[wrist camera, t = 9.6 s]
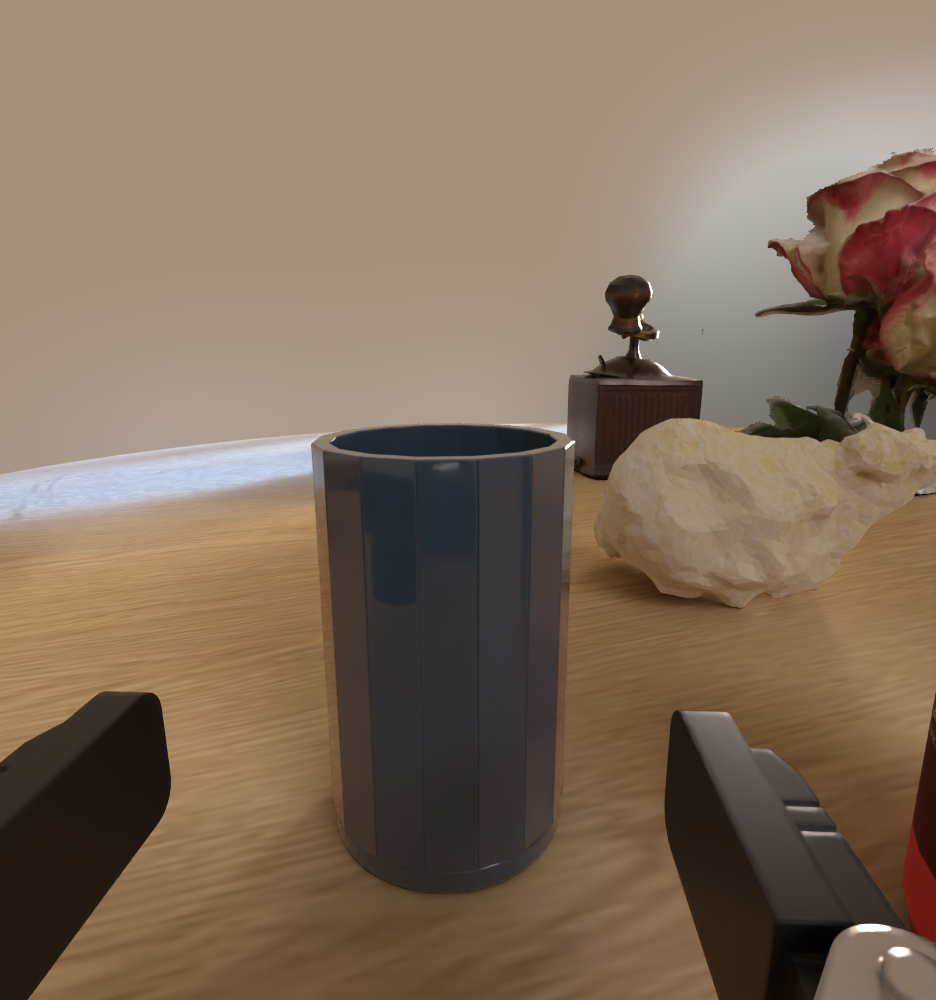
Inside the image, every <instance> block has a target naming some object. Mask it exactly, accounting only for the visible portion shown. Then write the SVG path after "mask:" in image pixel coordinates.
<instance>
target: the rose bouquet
mask: <svg viewBox="0 0 936 1000" xmlns="http://www.w3.org/2000/svg"><path fill="white" fill-rule="evenodd" d="M932 149H933V148H932ZM932 149H923V150H918V149H917V150H914V151H913V152H907V153H903V154H900V155H894V156H892V157H891V159H888V160H887V161H884V162H883V164H877V165H876V166H872V167H869V168H868V170H867V171H864V172H861V173H857V175H852V176H849V177H847V178H844V179H841V180H840V181H838V182H837V183H835V184H834V185H833V184H832V185H830V186H828V187H825V188H824V189H819V190H818V191H817V192H815V193H814V194H813V195H811V196H809V197H807V213H808V212H809V213H808V215H807V218H808V220H810V221H812V222H813V225H815V228H814V229H812V230H810V231H809V233H811V234H808V235H807V236H806V237H804V238H803V239H804V240H794V239H782V240H781V239H775V240H774V239H773V240H772V241H771V240H770V241H769V242H768V248H773V249H775V250H776V251H777V256H784V257H785V258H786V259H788V260H789V261H790V264H791V271H792V273H793V275H794V277H795V278H796V279H797V280H798V282H799V283H800V284H801V285H802V286H803V287H804V289H805V290H806V291H807V292H808V294H809V296H810V297H814V298H815V299H810V300H808V301H807V302H801V303H795V304H787V305H781V306H777V307H771V308H768V309H764V310H761V311H758V312H757V313H755V316H756V317H762V316H767V315H772V314H796V315H808V316H811V315H824V314H829V313H833V312H837V311H844V310H855V311H856V313H855V314H854V323H853V339H852V342H851V346H850V349H847V350H849V351H850V352H849V354H848V356H847V357H846V358H845V360H844V364H843V367H842V372H841V374H840V378H839V381H838V383H837V386H838V389H837V394H836V398H835V404H834V405H835V410H834V409H832V408H829V407H823V406H819V405H814V406H807V407H806V408H807V409H812V410H815V411H817V415H816V414H814V413H812V412H810V411H808V410H806V409H803V408H800V407H799V406H798V405H797V404H795V403H792V402H791V401H789V400H785V399H784V398H781V397H779V396H775V397H773V398H771V399H767V400H766V402H768V403H769V405H770V407H771V409H770V415H769V416H770V417H771V418H772V419H773V420H774V421H775V423H776V424H775V426H772V425H771V424H770V425H769V424H765V423H760V421H759V422H757V423H755V424H751V425H750V426H749V427H747V428H745V429H743V430H741V431H738V432H741V433H744V434H747V435H751V436H761V437H769V438H802V437H809V438H813V439H816V440H817V441H819V442H822V441H825V440H827V439H830V440H833V441H836V442H839V443H841V442H842V440H843V439H844V438H845V437H847V436H851V435H855V434H857V433H859V432H860V431H862V430H865V429H866V428H867V424H866V423H865V421H864V420H863V419H859V420H858V421H856V420H854V419H853V417H852V416H851V415H850V414H849V413H848V407H847V406H848V403H849V400H851V399H852V398H853V397H854V396H856V395H858V394H860V393H862V392H864V391H865V390H867V389H869V391H870V392H871V394H872V395H873V399H872V400H871V406H870V410H869V412H868V414H867V415H866V416H868V417H870V419H871V420H872V421H873V422H875V423H879V424H882V425H884V426H887V427H889V428H892V429H894V430H897V431H899V432H903V431H904V429H905V428H904V414H905V410H906V408H907V405H908V407H909V413H910V420H911V423H912V426H913V428H916V427H917V428H920V424H921V420H922V418H923V415H924V411H925V409H926V406H927V403H928V400H930V399H936V155H934V154H933V152H934V151H932ZM890 154H894V152H892V153H890ZM895 169H897V170H895ZM702 333H703V330H702ZM935 492H936V483H935V484H933V485H931V486H929V487H925V488H922V489H920V490H918V491H917V492H916V493H917V494H923V493H924V494H930V493H935Z"/></svg>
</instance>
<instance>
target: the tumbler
mask: <svg viewBox="0 0 936 1000" xmlns="http://www.w3.org/2000/svg"><path fill="white" fill-rule="evenodd" d="M311 449H312V465H313V481H314V497H315V513H316V529H317V545H318V561H319V577H320V593H321V609H322V625H323V641H324V657H325V673H326V689H327V706H328V722H329V738H330V754H331V770H332V786H333V802H334V805H335V808H336V815H337V826H338V830H339V834H340V837H341V839H342V841H343V843H344V845H345V847H346V848H347V850H348V851H349V852H350V854H351V855H352V856H353V858H354V859H355V860H356V861H357V862H358V863H359V864H360V865H361V866H362V867H364V868H365V869H367V870H368V871H369V872H371V873H372V874H374V875H375V876H377V877H379V878H381V879H383V880H385V881H387V882H389V883H392V884H395V885H397V886H400V887H403V888H408V889H412V890H416V891H423V892H431V893H457V892H466V891H472V890H477V889H481V888H486V887H489V886H491V885H494V884H497V883H500V882H502V881H505V880H507V879H509V878H511V877H513V876H515V875H516V874H518V873H520V872H521V871H523V870H524V869H526V868H527V867H528V866H529V865H531V864H532V863H533V862H534V861H535V860H536V859H538V857H539V856H540V855H541V854H542V853H543V852H544V850H545V849H546V848H547V846H548V845H549V843H550V841H551V840H552V838H553V836H554V833H555V831H556V828H557V825H558V820H559V809H560V799H561V795H562V782H563V754H564V727H565V699H566V671H567V644H568V616H569V589H570V561H571V533H572V506H573V478H574V450H575V441H574V440H573V439H571V438H570V437H568V436H567V435H565V434H563V433H559V432H554V431H549V430H544V429H539V428H530V427H520V426H510V425H494V424H461V423H454V424H453V423H451V424H410V425H392V426H378V427H369V428H361V429H352V430H346V431H341V432H337V433H332V434H328V435H324V436H321V437H319V438H318V439H317V440H315V441H314V442H313V443H312V444H311Z"/></svg>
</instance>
